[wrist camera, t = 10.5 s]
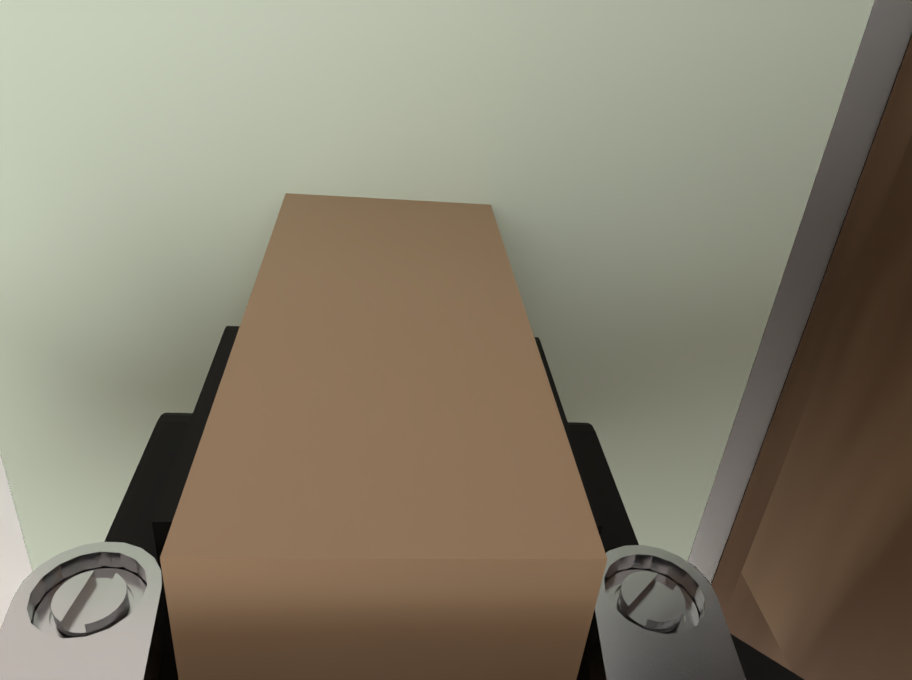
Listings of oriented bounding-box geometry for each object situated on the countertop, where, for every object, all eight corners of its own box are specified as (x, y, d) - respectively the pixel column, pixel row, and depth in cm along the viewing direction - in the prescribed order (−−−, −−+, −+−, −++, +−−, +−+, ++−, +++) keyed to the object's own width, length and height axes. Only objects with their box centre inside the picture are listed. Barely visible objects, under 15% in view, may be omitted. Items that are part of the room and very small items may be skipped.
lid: (885, -191, 10) (2020, -387, 3) (632, 640, 19) (781, 1098, 11) (-147, -315, 9) (-2391, -1194, 2) (85, 645, 17) (-128, 1169, 10)
